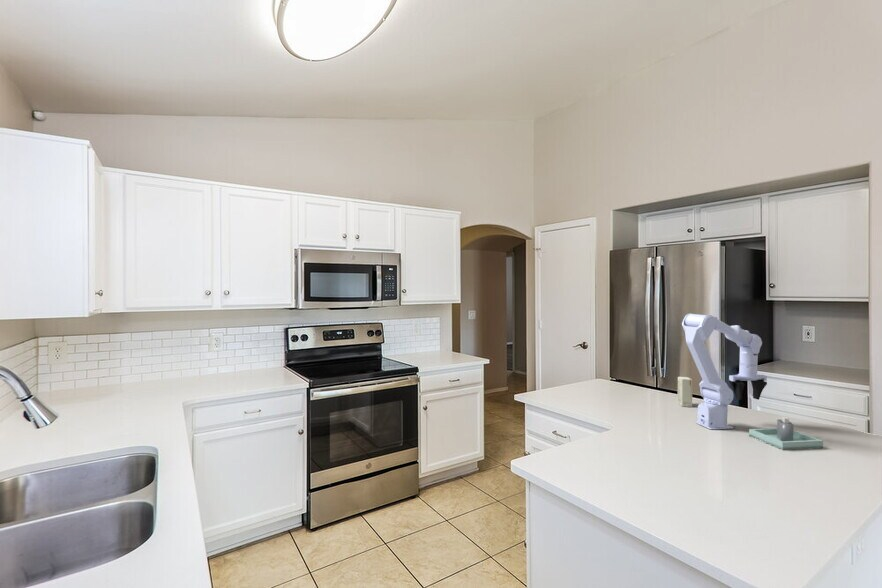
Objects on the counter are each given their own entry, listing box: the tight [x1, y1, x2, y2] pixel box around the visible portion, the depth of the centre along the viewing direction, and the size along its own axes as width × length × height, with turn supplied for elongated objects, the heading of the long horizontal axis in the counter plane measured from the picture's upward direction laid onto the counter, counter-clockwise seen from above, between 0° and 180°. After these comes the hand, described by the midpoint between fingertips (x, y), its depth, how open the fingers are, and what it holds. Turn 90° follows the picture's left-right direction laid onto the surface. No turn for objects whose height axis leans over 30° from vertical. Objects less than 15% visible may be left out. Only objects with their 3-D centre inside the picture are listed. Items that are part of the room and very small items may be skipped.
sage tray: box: [748, 427, 824, 451], centre depth 149 cm, size 15×13×2 cm
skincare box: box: [676, 376, 693, 408], centre depth 194 cm, size 6×4×12 cm
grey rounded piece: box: [776, 416, 795, 441], centre depth 149 cm, size 4×6×8 cm, turn 160°
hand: (747, 399), depth 170 cm, fingers open, 7 cm apart
